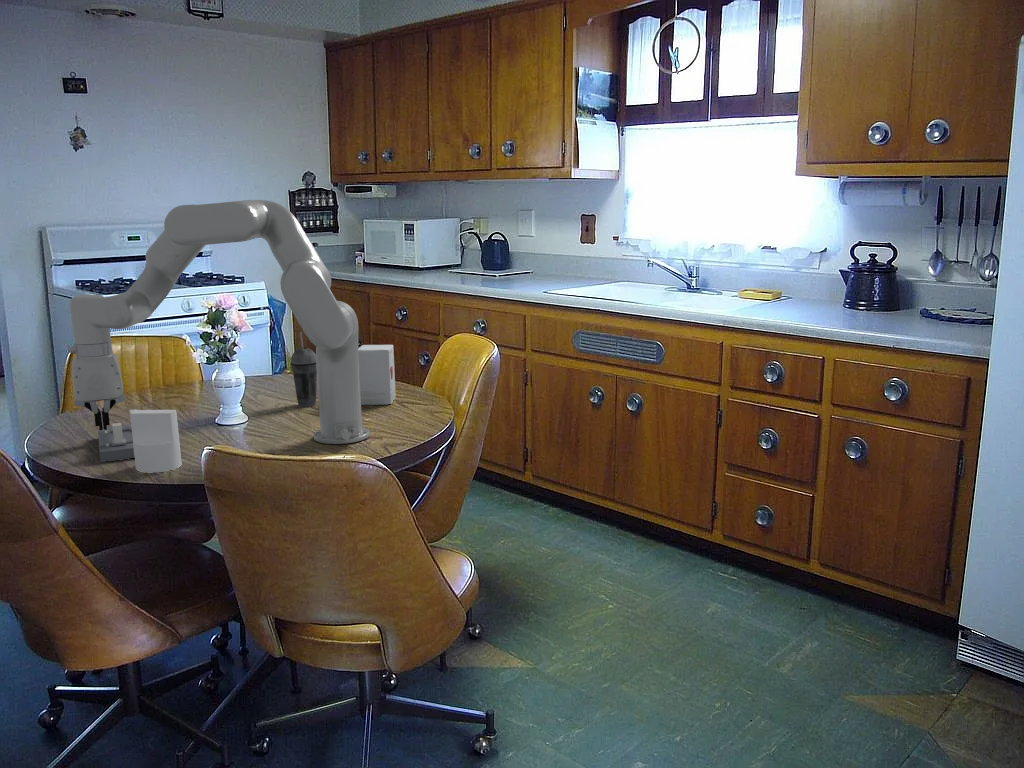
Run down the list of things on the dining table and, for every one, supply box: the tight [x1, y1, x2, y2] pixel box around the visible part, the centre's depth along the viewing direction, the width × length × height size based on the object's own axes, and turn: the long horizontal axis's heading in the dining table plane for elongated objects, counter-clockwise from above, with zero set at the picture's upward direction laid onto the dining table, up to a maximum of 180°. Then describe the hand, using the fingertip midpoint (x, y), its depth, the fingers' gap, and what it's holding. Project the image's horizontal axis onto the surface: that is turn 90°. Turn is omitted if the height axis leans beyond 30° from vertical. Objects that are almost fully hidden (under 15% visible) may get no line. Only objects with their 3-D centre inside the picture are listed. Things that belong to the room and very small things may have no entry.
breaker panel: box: [97, 424, 135, 463], centre depth 203 cm, size 22×16×2 cm
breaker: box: [111, 422, 126, 446], centre depth 195 cm, size 4×3×4 cm
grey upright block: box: [129, 409, 183, 473], centre depth 186 cm, size 9×9×12 cm
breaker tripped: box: [128, 408, 139, 431], centre depth 208 cm, size 4×3×4 cm
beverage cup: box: [289, 331, 317, 408], centre depth 237 cm, size 7×7×20 cm
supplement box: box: [358, 344, 396, 406], centre depth 240 cm, size 9×9×15 cm
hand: (103, 428), depth 205 cm, fingers closed
